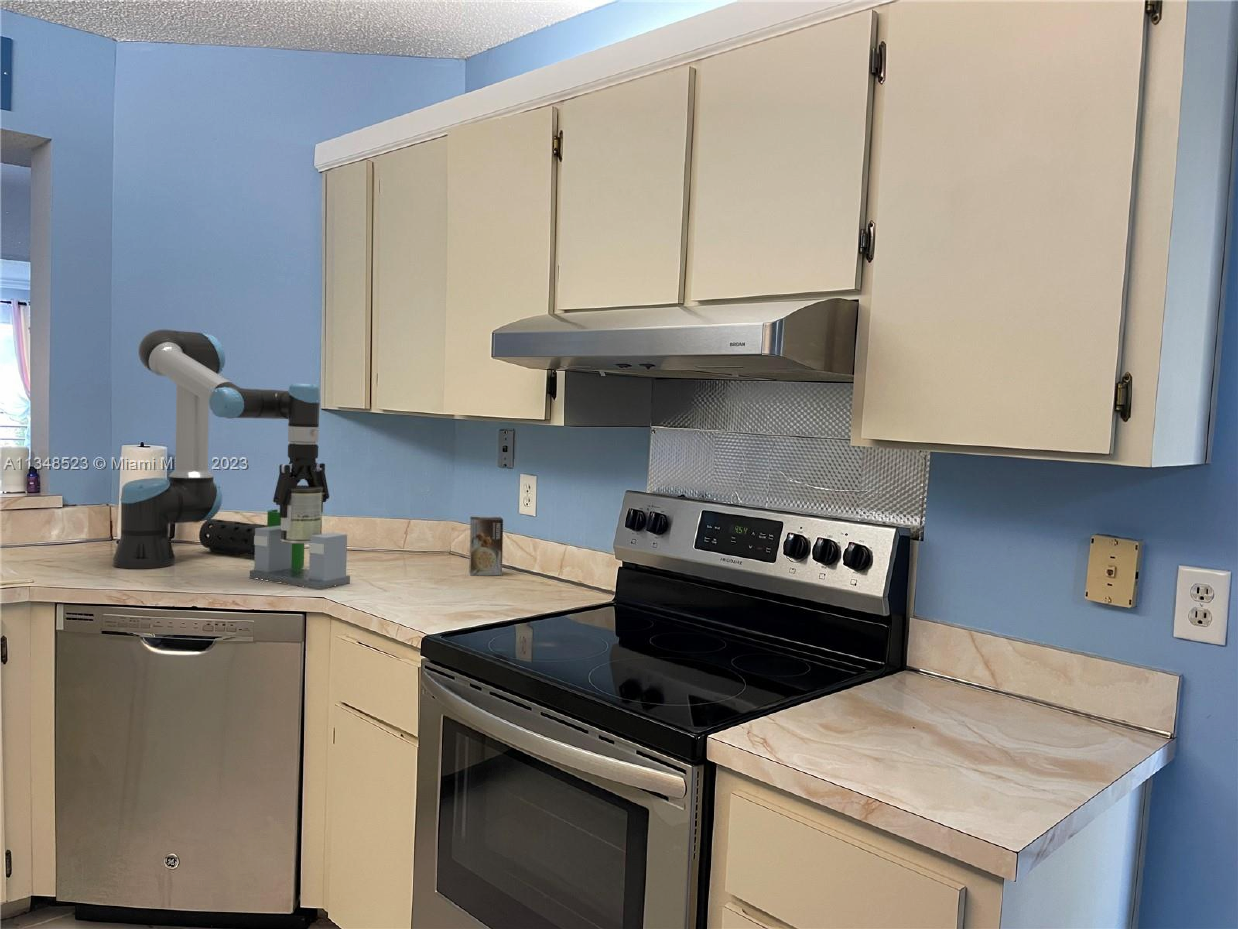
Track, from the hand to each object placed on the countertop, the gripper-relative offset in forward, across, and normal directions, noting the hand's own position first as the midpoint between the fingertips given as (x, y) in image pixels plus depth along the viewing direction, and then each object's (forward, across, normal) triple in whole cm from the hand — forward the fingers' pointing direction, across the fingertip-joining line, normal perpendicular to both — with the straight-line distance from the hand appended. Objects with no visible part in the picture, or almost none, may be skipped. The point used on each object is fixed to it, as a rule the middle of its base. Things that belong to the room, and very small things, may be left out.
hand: (301, 528), depth 244 cm
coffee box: (+14, +40, -31) cm, 52 cm away
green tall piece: (+14, +12, +18) cm, 26 cm away
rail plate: (+14, 0, 0) cm, 14 cm away
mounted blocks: (+12, 0, 0) cm, 12 cm away
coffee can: (+3, 0, 0) cm, 3 cm away
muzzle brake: (+14, +18, +39) cm, 45 cm away
